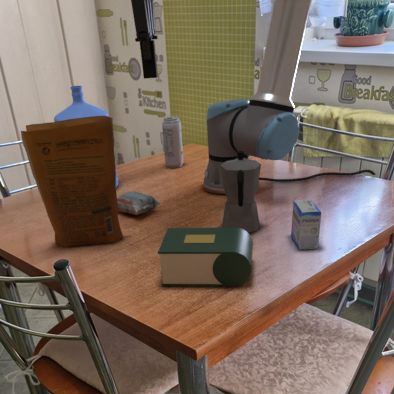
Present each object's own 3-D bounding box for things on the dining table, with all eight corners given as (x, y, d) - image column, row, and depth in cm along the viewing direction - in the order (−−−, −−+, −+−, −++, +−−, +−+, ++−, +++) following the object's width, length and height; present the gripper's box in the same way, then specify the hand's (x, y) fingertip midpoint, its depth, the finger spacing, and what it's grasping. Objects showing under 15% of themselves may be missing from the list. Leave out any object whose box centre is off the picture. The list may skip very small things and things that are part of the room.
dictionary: (252, 260, 112) (252, 226, 107) (251, 286, 102) (251, 251, 97) (170, 260, 114) (167, 227, 109) (161, 286, 104) (157, 251, 100)
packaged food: (138, 221, 133) (136, 202, 130) (107, 212, 140) (105, 194, 137) (161, 211, 139) (159, 193, 136) (131, 203, 145) (129, 186, 142)
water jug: (84, 178, 167) (67, 81, 150) (127, 181, 161) (114, 81, 145) (57, 194, 155) (35, 91, 139) (103, 198, 150) (85, 92, 134)
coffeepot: (222, 217, 133) (220, 144, 122) (259, 216, 132) (260, 142, 121) (220, 242, 120) (218, 162, 110) (261, 241, 119) (262, 161, 109)
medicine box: (290, 236, 121) (292, 200, 116) (309, 235, 121) (312, 198, 116) (298, 250, 114) (301, 212, 109) (318, 248, 114) (322, 211, 109)
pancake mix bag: (129, 244, 122) (111, 117, 106) (47, 252, 121) (17, 124, 105) (129, 233, 127) (112, 110, 111) (51, 240, 126) (22, 117, 110)
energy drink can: (186, 166, 172) (183, 117, 163) (170, 169, 170) (166, 120, 161) (178, 162, 176) (174, 114, 168) (162, 165, 174) (158, 117, 165)
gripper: (122, -66, 98) (139, 73, 112) (105, -71, 87) (126, 84, 101) (161, -70, 97) (173, 71, 111) (149, -75, 87) (164, 81, 100)
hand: (150, 77), depth 106 cm, fingers closed
